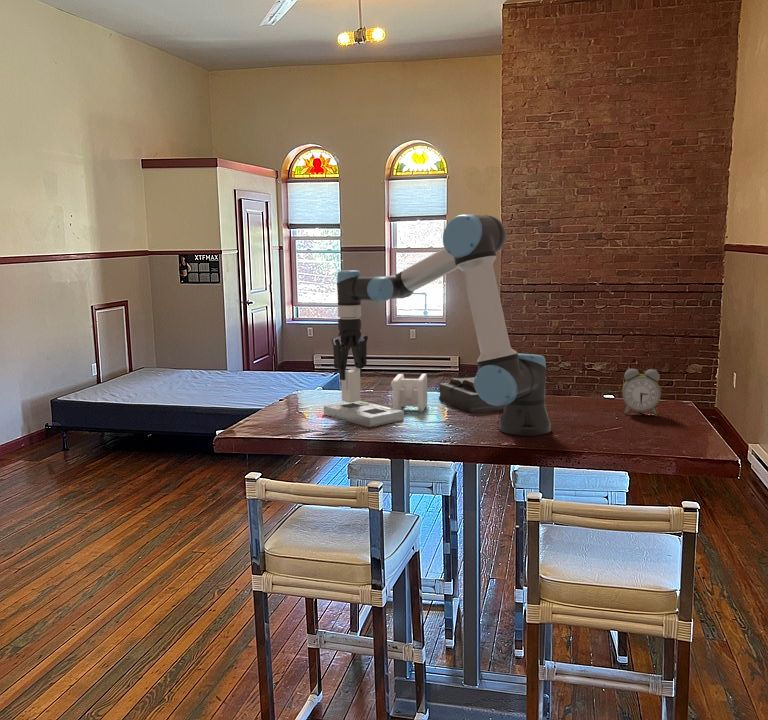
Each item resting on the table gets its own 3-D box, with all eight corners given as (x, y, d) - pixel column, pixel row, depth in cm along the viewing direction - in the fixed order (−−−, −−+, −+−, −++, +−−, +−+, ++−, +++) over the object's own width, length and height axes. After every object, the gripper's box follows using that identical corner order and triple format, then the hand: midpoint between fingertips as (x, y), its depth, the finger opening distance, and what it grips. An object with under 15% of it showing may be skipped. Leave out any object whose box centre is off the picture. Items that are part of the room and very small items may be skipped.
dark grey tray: (457, 414, 241) (457, 385, 240) (435, 398, 268) (435, 372, 266) (523, 410, 246) (524, 381, 244) (496, 395, 272) (496, 369, 270)
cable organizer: (422, 414, 241) (422, 380, 239) (391, 414, 242) (390, 379, 241) (427, 405, 255) (427, 372, 254) (397, 404, 257) (397, 372, 255)
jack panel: (403, 419, 234) (403, 410, 233) (370, 427, 225) (370, 417, 224) (356, 408, 252) (356, 399, 251) (323, 414, 243) (323, 405, 242)
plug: (360, 400, 242) (359, 370, 240) (350, 402, 239) (349, 372, 237) (350, 398, 246) (349, 369, 244) (339, 400, 243) (338, 370, 242)
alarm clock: (621, 415, 235) (623, 369, 233) (621, 411, 242) (622, 366, 239) (660, 417, 232) (661, 370, 229) (659, 413, 238) (660, 367, 236)
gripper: (362, 315, 246) (364, 383, 250) (321, 319, 235) (322, 390, 238) (377, 316, 241) (378, 386, 244) (335, 320, 229) (336, 393, 233)
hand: (351, 388), depth 241 cm, fingers closed on plug, 4 cm apart
